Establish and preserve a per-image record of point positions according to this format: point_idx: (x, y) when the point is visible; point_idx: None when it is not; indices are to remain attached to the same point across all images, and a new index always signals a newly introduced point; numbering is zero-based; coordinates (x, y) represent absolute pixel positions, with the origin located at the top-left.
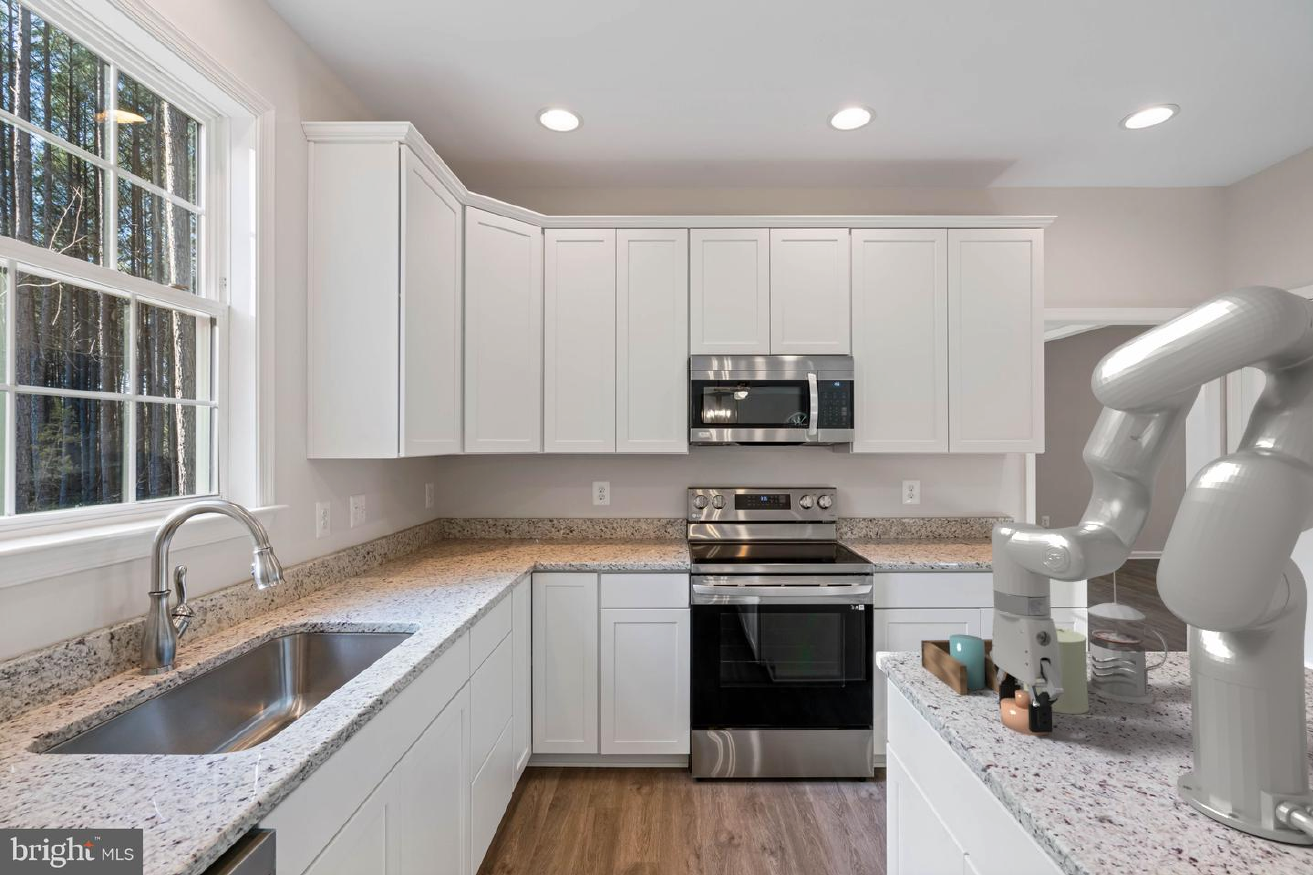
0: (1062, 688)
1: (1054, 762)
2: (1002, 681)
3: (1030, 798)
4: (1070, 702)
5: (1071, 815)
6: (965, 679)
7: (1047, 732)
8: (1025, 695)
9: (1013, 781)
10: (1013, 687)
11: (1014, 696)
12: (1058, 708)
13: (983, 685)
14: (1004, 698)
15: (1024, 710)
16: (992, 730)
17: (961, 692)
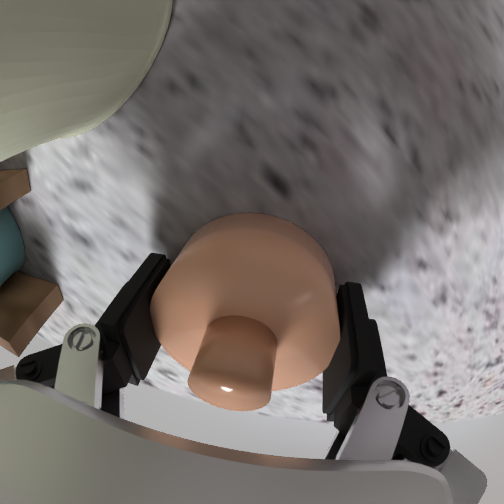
0: (483, 490)
1: (442, 352)
2: (123, 392)
3: (459, 415)
4: (139, 11)
5: (499, 396)
6: (34, 317)
7: (332, 270)
8: (257, 402)
9: (428, 418)
10: (132, 351)
11: (147, 316)
12: (140, 66)
13: (5, 217)
14: (159, 342)
15: (281, 365)
16: None
17: (58, 301)
